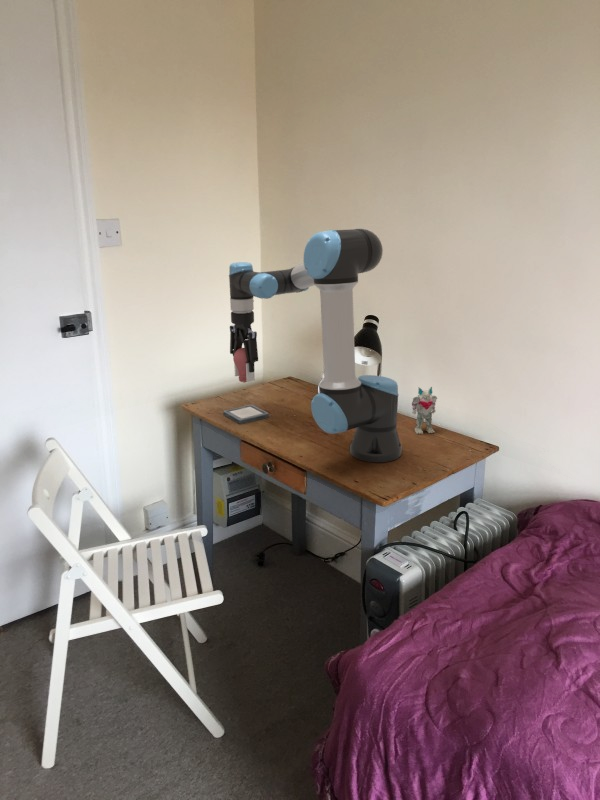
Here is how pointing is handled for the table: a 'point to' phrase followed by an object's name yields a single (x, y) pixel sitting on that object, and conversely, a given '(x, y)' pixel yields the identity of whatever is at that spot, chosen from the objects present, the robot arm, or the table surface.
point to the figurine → (424, 409)
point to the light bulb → (241, 363)
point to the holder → (246, 414)
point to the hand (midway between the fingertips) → (244, 378)
